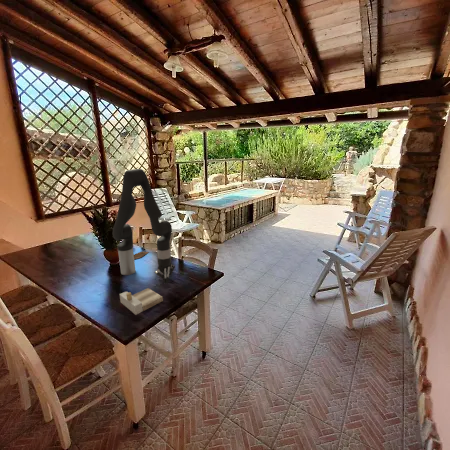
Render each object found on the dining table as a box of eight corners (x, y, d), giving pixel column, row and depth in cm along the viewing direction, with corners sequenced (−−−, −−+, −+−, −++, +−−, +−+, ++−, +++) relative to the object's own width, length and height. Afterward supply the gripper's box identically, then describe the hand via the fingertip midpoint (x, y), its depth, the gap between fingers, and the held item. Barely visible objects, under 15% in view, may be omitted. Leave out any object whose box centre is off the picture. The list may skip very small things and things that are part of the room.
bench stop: (120, 302, 136) (118, 289, 134) (127, 299, 139) (126, 286, 137) (135, 314, 126) (133, 300, 123) (142, 311, 129) (141, 297, 126)
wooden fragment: (144, 250, 206) (144, 249, 206) (152, 254, 199) (152, 253, 199) (114, 261, 187) (114, 260, 187) (122, 265, 180) (122, 264, 180)
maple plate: (129, 301, 138) (129, 296, 137) (148, 292, 146) (148, 287, 145) (143, 311, 129) (142, 306, 128) (163, 301, 137) (162, 296, 137)
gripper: (169, 250, 149) (171, 276, 154) (150, 257, 140) (152, 284, 145) (177, 254, 144) (179, 280, 149) (157, 261, 135) (160, 289, 140)
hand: (166, 282), depth 147 cm, fingers closed
